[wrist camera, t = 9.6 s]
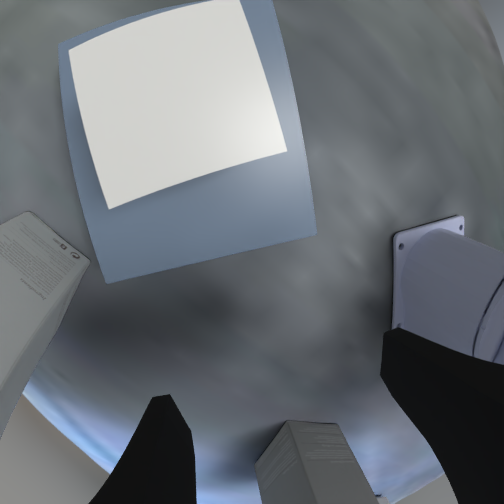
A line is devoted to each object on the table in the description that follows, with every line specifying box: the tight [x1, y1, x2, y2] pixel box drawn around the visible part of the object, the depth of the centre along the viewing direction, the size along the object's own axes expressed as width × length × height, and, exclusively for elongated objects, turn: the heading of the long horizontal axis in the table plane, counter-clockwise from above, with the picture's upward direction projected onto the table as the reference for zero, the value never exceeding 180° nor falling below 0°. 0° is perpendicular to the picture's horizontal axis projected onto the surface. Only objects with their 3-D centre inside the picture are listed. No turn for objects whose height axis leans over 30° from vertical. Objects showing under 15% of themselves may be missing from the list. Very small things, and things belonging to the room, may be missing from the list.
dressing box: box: [58, 0, 317, 284], centre depth 14 cm, size 13×11×4 cm
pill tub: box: [69, 0, 287, 209], centre depth 9 cm, size 5×5×6 cm
